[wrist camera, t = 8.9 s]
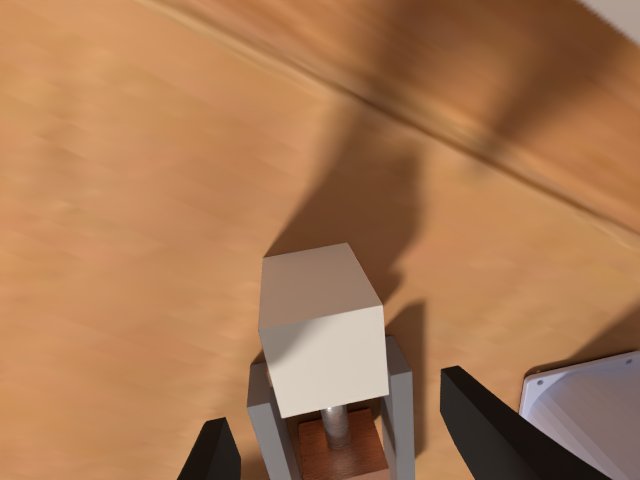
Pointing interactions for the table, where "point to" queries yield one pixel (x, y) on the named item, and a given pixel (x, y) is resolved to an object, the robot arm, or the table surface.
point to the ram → (341, 446)
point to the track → (393, 418)
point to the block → (321, 330)
